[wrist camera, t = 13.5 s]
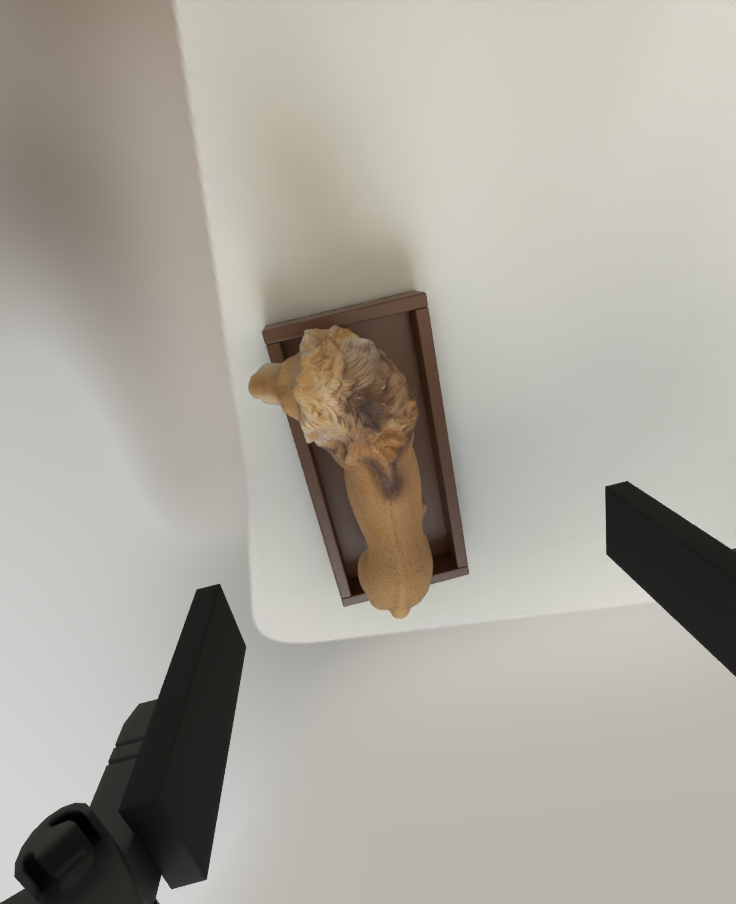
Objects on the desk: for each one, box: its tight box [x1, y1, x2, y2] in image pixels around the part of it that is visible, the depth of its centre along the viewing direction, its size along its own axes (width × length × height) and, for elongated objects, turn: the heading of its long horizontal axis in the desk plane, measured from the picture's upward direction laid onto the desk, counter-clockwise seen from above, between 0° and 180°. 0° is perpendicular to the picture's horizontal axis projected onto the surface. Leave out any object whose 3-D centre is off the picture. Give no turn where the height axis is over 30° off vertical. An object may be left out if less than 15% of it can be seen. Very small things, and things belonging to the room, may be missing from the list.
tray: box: [262, 291, 469, 607], centre depth 23 cm, size 15×7×2 cm, turn 12°
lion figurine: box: [248, 325, 433, 619], centre depth 19 cm, size 15×5×9 cm, turn 20°
